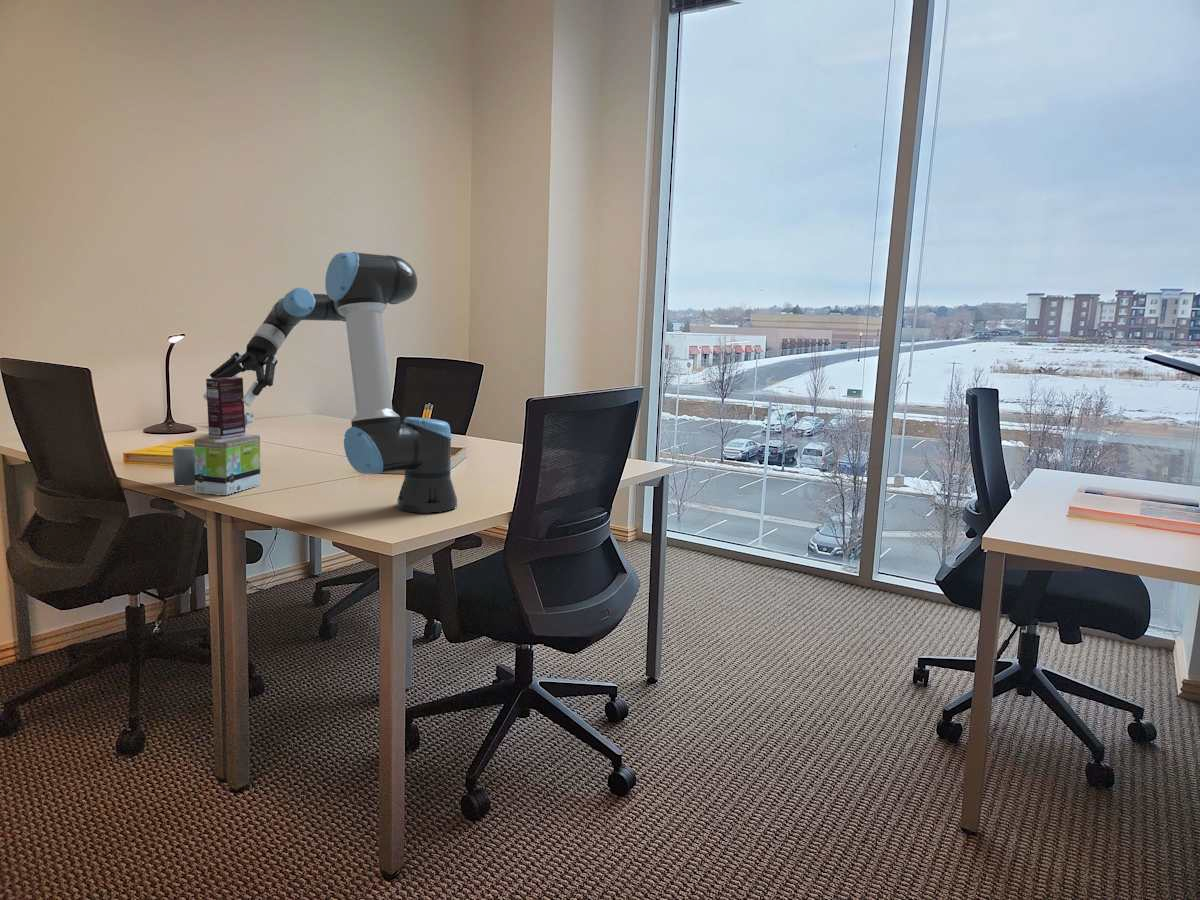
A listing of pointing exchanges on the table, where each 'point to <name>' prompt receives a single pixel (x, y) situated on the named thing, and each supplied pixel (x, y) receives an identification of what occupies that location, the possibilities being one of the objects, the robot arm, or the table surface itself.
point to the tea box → (227, 464)
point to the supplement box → (225, 407)
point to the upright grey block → (184, 465)
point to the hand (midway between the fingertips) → (226, 401)
